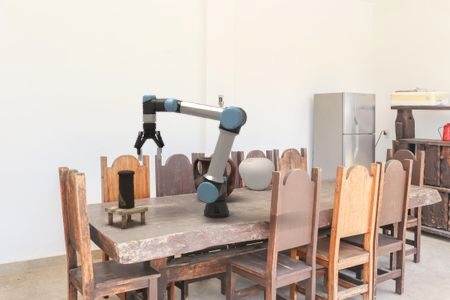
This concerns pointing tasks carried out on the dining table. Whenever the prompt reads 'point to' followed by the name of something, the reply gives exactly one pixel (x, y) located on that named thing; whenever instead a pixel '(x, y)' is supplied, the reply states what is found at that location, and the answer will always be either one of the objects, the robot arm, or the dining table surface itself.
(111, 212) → the footstool
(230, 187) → the jug
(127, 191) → the container
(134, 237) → the dining table surface
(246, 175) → the vase
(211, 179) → the robot arm
